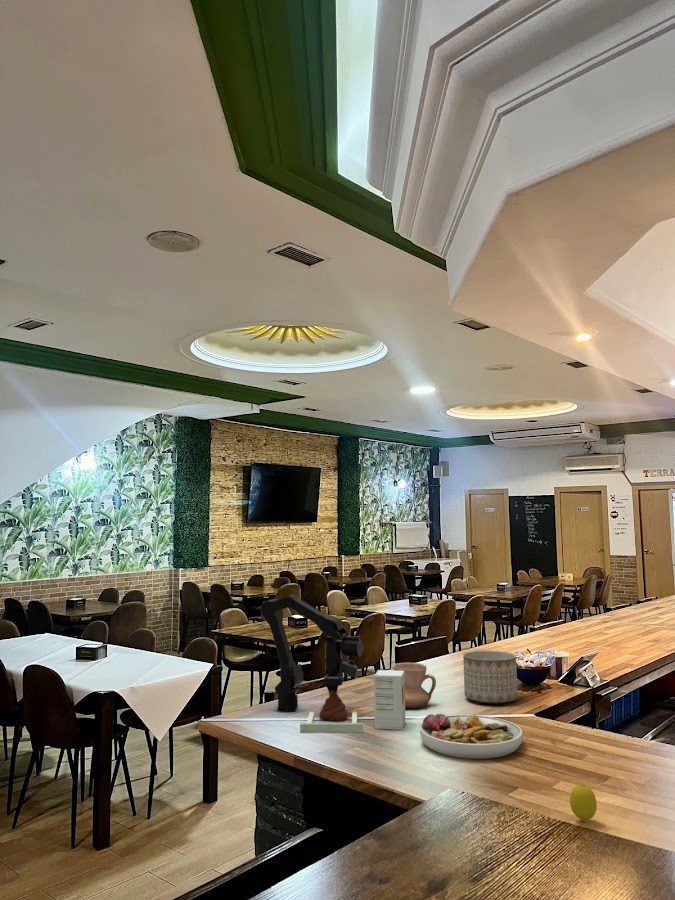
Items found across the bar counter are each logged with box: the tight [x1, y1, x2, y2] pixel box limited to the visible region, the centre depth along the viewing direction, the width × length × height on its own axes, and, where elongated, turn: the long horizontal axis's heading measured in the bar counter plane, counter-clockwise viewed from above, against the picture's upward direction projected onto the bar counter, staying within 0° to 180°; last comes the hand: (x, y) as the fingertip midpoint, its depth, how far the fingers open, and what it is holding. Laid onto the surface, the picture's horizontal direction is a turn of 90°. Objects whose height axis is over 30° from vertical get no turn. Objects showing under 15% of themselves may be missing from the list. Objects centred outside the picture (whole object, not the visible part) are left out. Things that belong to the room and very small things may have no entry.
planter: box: [462, 650, 519, 705], centre depth 254 cm, size 19×19×16 cm
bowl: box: [419, 713, 523, 760], centre depth 202 cm, size 30×30×8 cm
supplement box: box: [373, 669, 406, 731], centre depth 223 cm, size 10×9×17 cm
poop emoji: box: [318, 690, 349, 722], centre depth 232 cm, size 10×8×9 cm
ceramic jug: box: [392, 662, 437, 709], centre depth 247 cm, size 18×14×14 cm
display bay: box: [299, 711, 364, 734], centre depth 223 cm, size 20×14×2 cm
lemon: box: [569, 782, 598, 823], centre depth 149 cm, size 6×6×8 cm
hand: (333, 700), depth 237 cm, fingers closed
